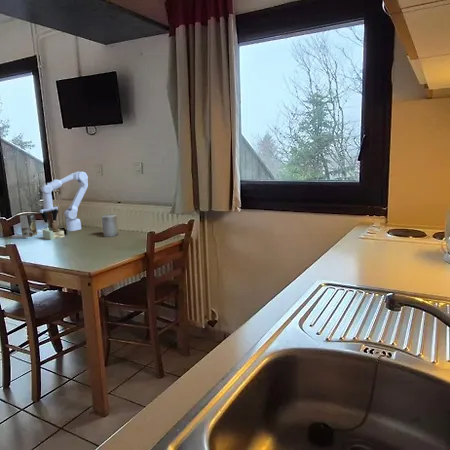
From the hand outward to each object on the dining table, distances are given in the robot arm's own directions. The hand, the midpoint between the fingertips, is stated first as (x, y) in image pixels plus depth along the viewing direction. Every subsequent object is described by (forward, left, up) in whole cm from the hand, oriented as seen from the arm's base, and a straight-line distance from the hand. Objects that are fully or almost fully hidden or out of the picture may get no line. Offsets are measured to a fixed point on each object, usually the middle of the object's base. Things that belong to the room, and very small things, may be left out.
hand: (50, 221), depth 285 cm
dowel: (+4, +16, -7) cm, 18 cm away
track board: (0, +16, -9) cm, 19 cm away
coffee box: (+13, -5, -10) cm, 17 cm away
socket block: (+4, +16, -8) cm, 19 cm away
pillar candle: (-24, +38, -10) cm, 46 cm away
